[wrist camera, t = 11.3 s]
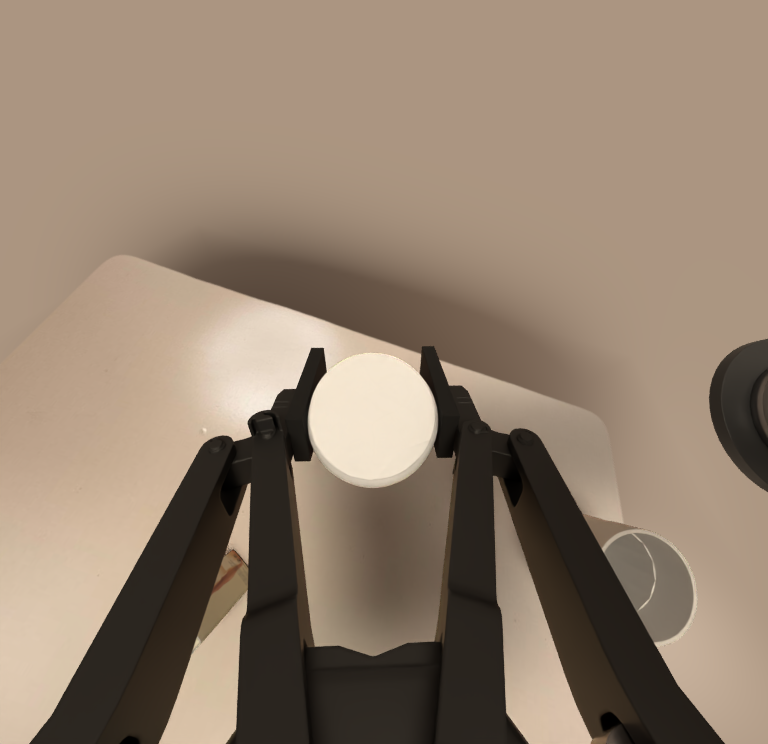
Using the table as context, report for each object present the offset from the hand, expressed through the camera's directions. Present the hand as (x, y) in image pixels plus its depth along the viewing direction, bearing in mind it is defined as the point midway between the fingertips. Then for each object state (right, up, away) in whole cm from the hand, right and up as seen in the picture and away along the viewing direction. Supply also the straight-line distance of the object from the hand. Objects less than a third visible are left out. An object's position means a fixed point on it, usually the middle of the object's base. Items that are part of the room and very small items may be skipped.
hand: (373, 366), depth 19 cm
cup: (+20, -19, +15) cm, 32 cm away
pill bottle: (0, -4, +3) cm, 5 cm away
